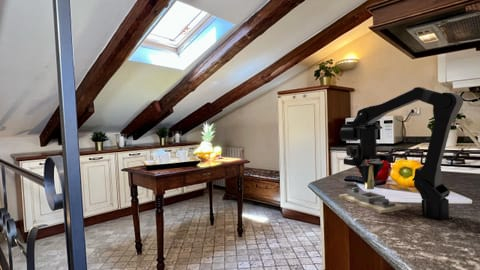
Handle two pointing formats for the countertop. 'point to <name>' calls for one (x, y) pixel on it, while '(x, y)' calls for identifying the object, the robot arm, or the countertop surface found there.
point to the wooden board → (372, 206)
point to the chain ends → (370, 197)
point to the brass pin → (370, 178)
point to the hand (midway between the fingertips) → (369, 181)
